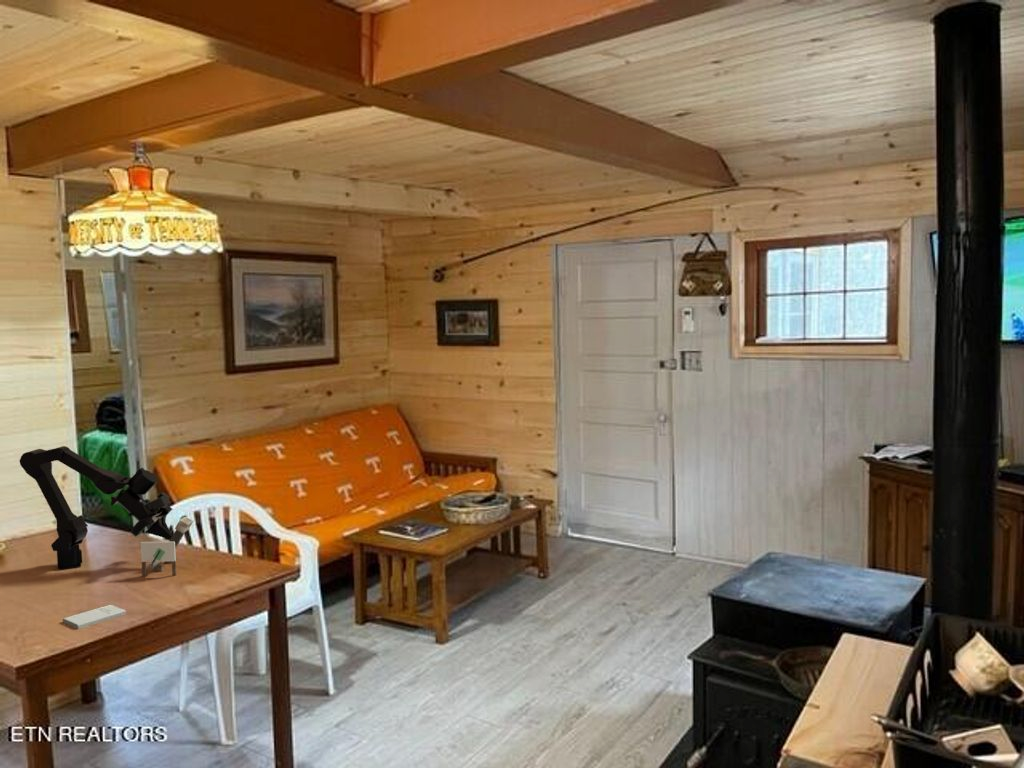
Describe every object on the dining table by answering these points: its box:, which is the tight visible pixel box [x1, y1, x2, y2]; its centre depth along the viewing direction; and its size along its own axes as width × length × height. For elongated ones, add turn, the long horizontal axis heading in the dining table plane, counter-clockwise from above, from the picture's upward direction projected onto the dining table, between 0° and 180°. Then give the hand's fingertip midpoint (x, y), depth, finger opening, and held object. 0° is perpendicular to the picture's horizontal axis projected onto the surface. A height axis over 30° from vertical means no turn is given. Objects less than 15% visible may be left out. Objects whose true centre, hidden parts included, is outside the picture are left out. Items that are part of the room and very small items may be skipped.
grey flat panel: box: [140, 541, 176, 563], centre depth 242 cm, size 10×1×6 cm, turn 91°
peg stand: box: [141, 561, 177, 577], centre depth 249 cm, size 10×14×4 cm
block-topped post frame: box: [146, 516, 194, 571], centre depth 248 cm, size 3×14×14 cm
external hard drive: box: [62, 604, 127, 630], centre depth 208 cm, size 2×8×12 cm
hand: (171, 538), depth 253 cm, fingers closed, pressing on block-topped post frame
